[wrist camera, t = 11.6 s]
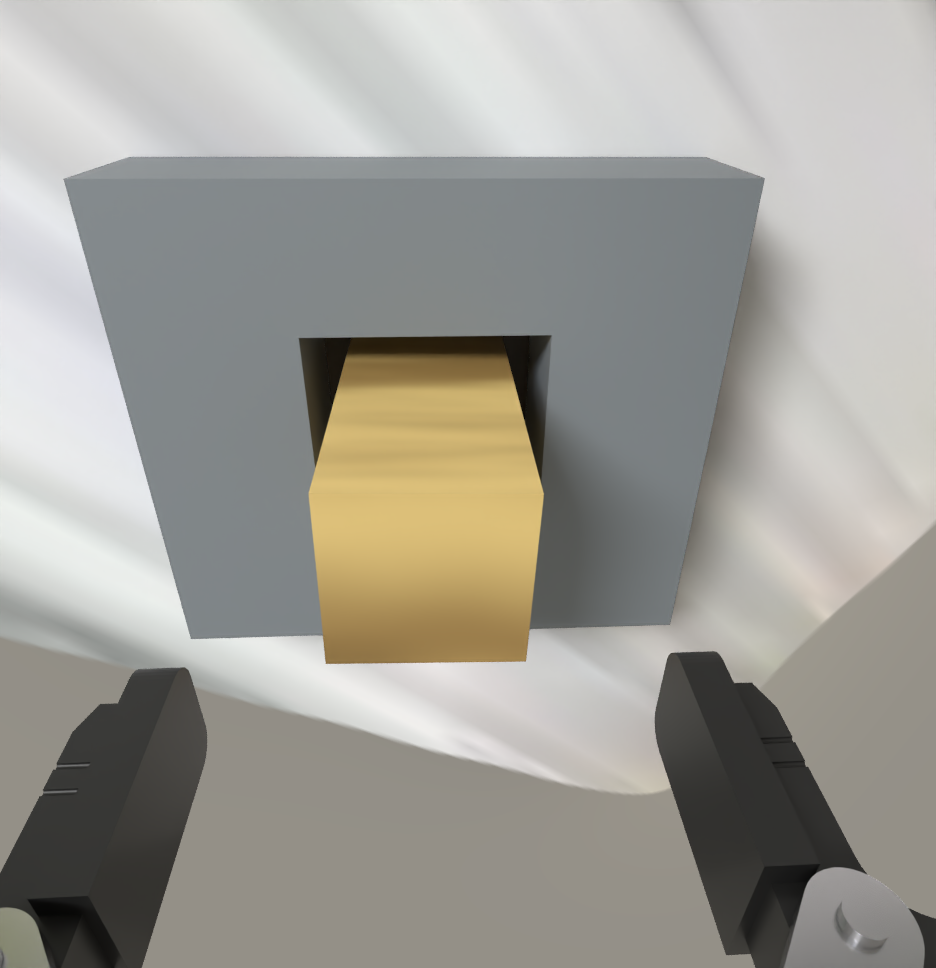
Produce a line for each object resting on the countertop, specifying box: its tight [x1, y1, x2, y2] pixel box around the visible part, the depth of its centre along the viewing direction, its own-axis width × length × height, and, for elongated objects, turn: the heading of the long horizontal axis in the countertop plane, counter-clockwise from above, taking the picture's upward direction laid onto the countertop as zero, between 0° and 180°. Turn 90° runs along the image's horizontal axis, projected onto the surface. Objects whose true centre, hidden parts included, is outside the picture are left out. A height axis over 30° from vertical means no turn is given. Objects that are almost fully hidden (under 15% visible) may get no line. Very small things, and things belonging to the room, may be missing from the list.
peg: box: [309, 336, 544, 664], centre depth 19 cm, size 4×4×10 cm
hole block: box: [64, 157, 765, 639], centre depth 21 cm, size 14×16×4 cm
